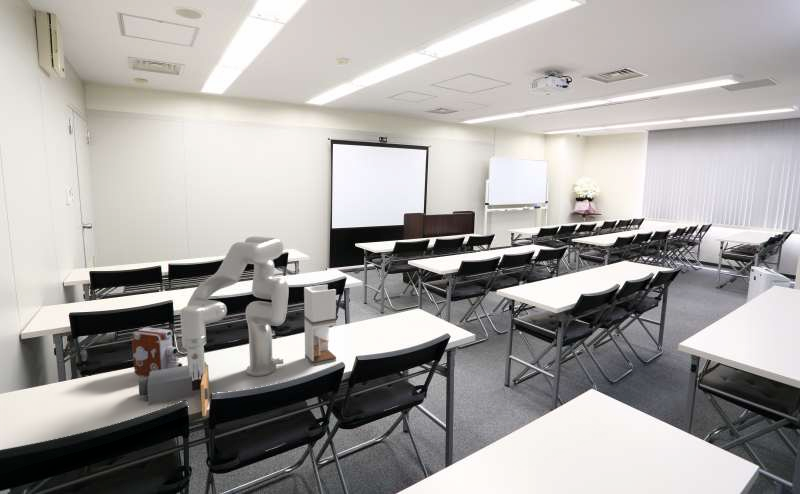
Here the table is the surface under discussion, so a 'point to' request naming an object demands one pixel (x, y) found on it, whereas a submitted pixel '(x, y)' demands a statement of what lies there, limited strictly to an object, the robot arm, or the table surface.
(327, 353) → the display case
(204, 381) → the side door
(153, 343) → the red printed upright box
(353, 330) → the table surface
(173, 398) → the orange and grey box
